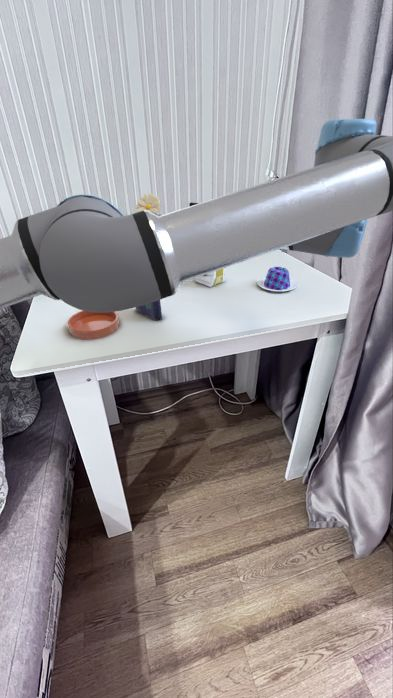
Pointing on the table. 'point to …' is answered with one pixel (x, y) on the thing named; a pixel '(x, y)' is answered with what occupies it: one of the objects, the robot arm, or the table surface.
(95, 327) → the terracotta plant saucer
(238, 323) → the table surface
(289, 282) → the pudding
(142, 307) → the flask
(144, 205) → the flower in vase
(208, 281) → the juice carton
